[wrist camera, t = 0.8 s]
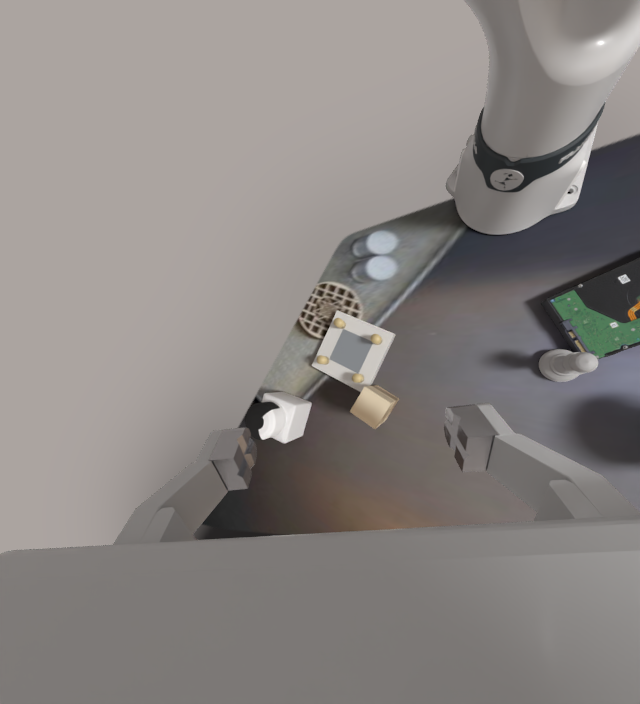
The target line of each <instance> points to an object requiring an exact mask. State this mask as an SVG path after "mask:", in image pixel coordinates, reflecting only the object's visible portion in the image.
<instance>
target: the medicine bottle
mask: <svg viewBox="0 0 640 704" xmlns="http://www.w3.org/2000/svg"><path fill="white" fill-rule="evenodd" d="M311 405H312V403H311V402H309V401H307V400H304V399H301V398H299V397H296V396H294V395H291V394H288V393H286V392H274V393H265V394H264V396H263V399H262V402H261V403H256V404H254V405H252V406H251V407H250V408H249V410H248V412H247V414H246V421H245V422H246V427H247V428H249V430H250V432H251V436H252V437H254V438H256V439H258V440H264V439H267V438H270V437H272V438H274V439H276V440H278V441H280V442H282V443H287V442H289V441H292V440H294V439H296V438H299V437H301V436H303V433H304V429H305V426H306V422H307V419H308V415H309V412H310V408H311Z"/></svg>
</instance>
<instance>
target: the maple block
mask: <svg viewBox="0 0 640 704" xmlns="http://www.w3.org/2000/svg"><path fill="white" fill-rule="evenodd" d="M398 400H399V398H397V397H396V396H394V395H392V394H391V393H389V392H387V391H386V390H384V389H383V388H381V387H379V386H378V385H375V386H365V387H364V388H363V390H362V392H361V393H360V395H359V397H358V398H357V400H356V402H355V404H354V405H353V407H352V409H351V410H350V412H351V413H353V414H354V415H355V416H357V417H358V418H360V419H361V420H363V421H364V422H365V423H367V424H368V425H370V426H371V427H373V428H374V429H376V428H377V427H378V426H380V425H381V424H382V423H383V422H384V421H385V420H386V419H387V418H388V416H389V414H390V413H391V411H392V410H393V408H394V406H395V405H396V403H397V401H398Z"/></svg>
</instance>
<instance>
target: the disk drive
mask: <svg viewBox="0 0 640 704" xmlns="http://www.w3.org/2000/svg"><path fill="white" fill-rule="evenodd" d="M541 304H542V305H543V307H544V308H545V310H546V311H547V313H548V314H549V316H550V317H551V319H552V320H553V322H554V323H555V325H556V326H557V328H558V329H559V330H560V332H561V333H562V335H563V337H564V338H565V340H566V341H567V343H568V344H569V346H570V347H571V349H572V350H573V352H587V353H590V354H593V355H594V356H595V357H596V358H597V359H600V358H603V357H607V356H610V355H613V354H616V353H618V352H621V351H623V350H626V349H629V348H632V347H635V346H637V345H640V258H637V259H635V260H633V261H631V262H629V263H626V264H624V265H622V266H619V267H617V268H615V269H613V270H610V271H608V272H606V273H604V274H601V275H599V276H597V277H595V278H592V279H590V280H588V281H585V282H583V283H581V284H578V285H576V286H574V287H572V288H569V289H566V290H564V291H562V292H560V293H558V294H556V295H553V296H551V297H549V298H547V299H546V300H544V301H543V302H542V303H541Z"/></svg>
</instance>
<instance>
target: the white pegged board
mask: <svg viewBox="0 0 640 704" xmlns="http://www.w3.org/2000/svg"><path fill="white" fill-rule="evenodd" d="M394 337H395V334H393V333H391V332H389V331H386V330H384V329H381V328H379V327H376V326H374V325H372V324H369V323H367V322H364V321H362V320H359V319H357V318H355V317H352V316H350V315H347V314H345V313H342V312H340V311H338V310H337V312H336V314H335V316H334V318H333V320H332V322H331V325H330V327H329V329H328V331H327V333H326V336H325V338H324V340H323V342H322V344H321V346H320V349H319V351H318V353H317V355H316V357H315V359H314V362H313V364H312V366H313V367H315V368H317V369H318V370H320V371H322V372H324V373H326V374H328V375H330V376H331V377H333V378H335V379H337V380H339V381H341V382H343V383H345V384H346V385H348V386H350V387H352V388H354V389H356V390H358V391H359V392H362V390H363V388H364V387H365V386H371V385H372V383H373V381H374V379H375V377H376V374H377V372H378V370H379V368H380V366H381V364H382V362H383V360H384V358H385V356H386V354H387V352H388V350H389V348H390V345H391V343H392V341H393V339H394Z"/></svg>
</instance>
